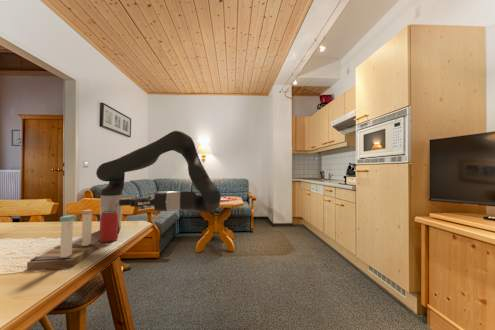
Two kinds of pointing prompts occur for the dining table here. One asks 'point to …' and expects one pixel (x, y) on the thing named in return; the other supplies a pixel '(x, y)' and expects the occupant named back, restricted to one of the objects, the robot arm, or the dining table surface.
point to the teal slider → (66, 235)
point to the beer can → (108, 226)
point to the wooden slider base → (54, 260)
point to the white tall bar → (86, 227)
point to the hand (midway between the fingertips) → (119, 202)
